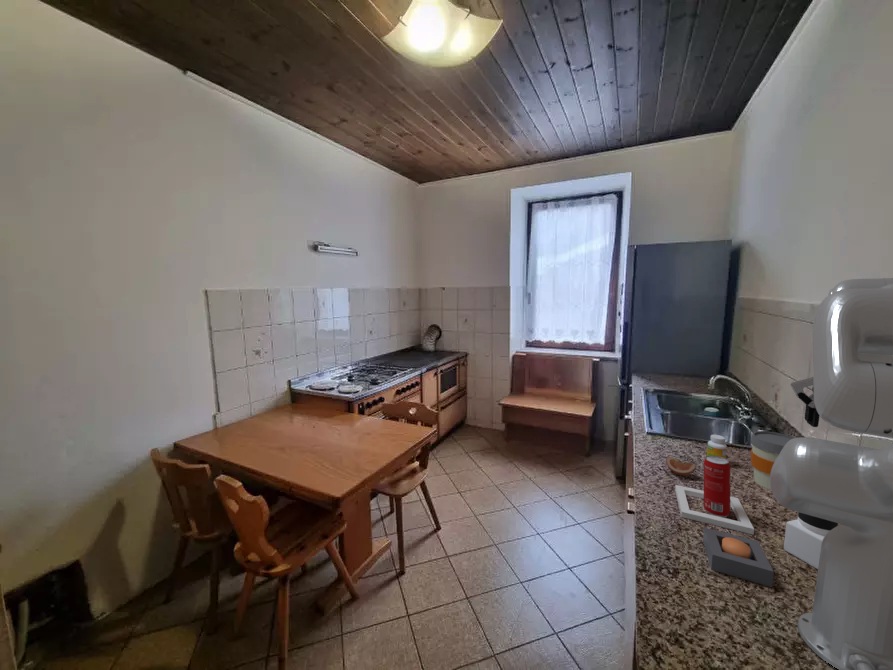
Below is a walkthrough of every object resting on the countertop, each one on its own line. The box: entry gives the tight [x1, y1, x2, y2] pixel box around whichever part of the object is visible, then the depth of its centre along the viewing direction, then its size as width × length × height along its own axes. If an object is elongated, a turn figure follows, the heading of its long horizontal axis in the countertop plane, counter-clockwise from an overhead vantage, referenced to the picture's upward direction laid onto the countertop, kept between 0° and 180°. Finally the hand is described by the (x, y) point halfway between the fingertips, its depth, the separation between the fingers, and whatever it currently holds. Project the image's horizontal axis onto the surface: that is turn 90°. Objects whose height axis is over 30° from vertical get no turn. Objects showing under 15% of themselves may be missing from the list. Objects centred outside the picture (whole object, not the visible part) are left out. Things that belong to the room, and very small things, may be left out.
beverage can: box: [703, 455, 732, 518], centre depth 95 cm, size 6×6×15 cm
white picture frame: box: [674, 484, 755, 535], centre depth 96 cm, size 15×15×2 cm
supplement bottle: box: [706, 434, 728, 459], centre depth 122 cm, size 5×5×10 cm
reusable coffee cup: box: [750, 430, 795, 491], centre depth 108 cm, size 13×13×15 cm
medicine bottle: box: [783, 512, 839, 570], centre depth 78 cm, size 7×7×12 cm
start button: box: [722, 537, 751, 559], centre depth 77 cm, size 5×5×2 cm
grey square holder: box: [702, 527, 775, 588], centre depth 77 cm, size 10×10×4 cm
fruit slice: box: [665, 455, 698, 476], centre depth 115 cm, size 8×7×5 cm
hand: (845, 429), depth 70 cm, fingers open, 9 cm apart
